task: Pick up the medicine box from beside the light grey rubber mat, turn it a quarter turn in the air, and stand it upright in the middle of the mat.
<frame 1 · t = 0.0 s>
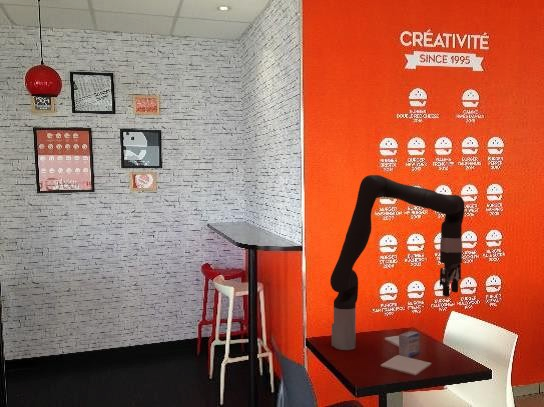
hand: (450, 294, 181), 29 cm above the table, tool pointing down, fingers open, 8 cm apart
medicine box: (408, 355, 203), on the table
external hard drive: (400, 344, 217), on the table
mat: (406, 365, 190), on the table
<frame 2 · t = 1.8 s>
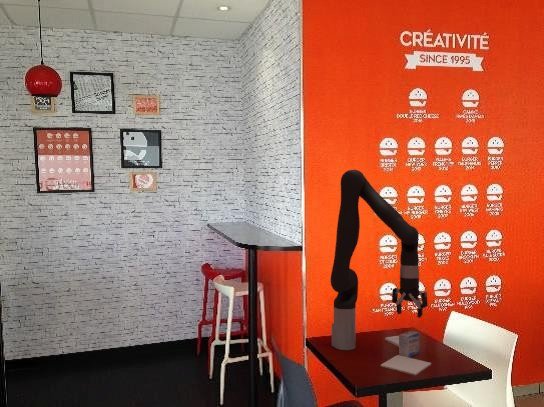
hand: (409, 315, 202), 16 cm above the table, tool pointing down, fingers open, 8 cm apart
nothing on the table moved.
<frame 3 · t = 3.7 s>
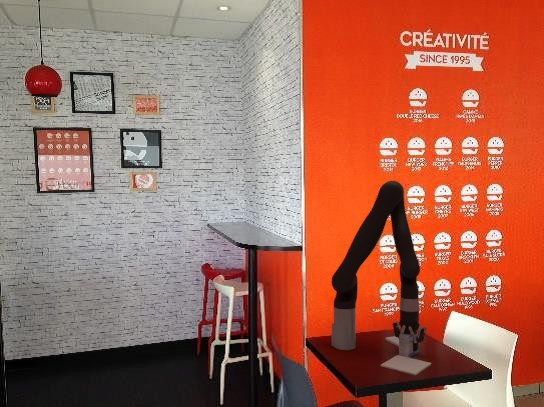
hand: (409, 349, 202), 2 cm above the table, tool pointing down, fingers closed on medicine box, 4 cm apart
medicine box: (408, 354, 203), on the table, touching gripper
everything else where it was.
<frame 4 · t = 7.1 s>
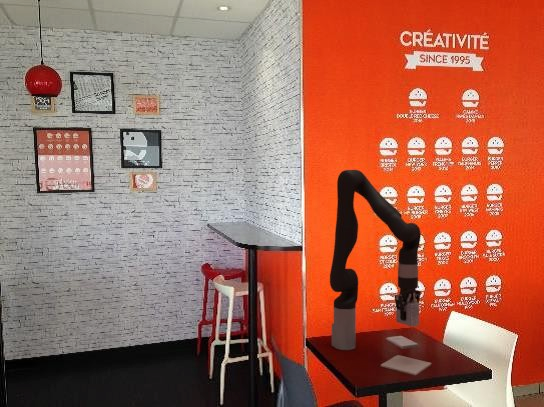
hand: (407, 318, 192), 17 cm above the table, tool pointing down, fingers closed on medicine box, 4 cm apart
medicine box: (407, 324, 192), point 15 cm above the table, touching gripper
everything else where it was.
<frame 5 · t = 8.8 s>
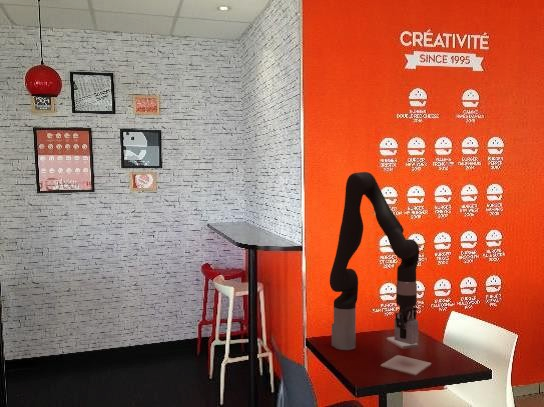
hand: (406, 336, 190), 11 cm above the table, tool pointing down, fingers closed on medicine box, 4 cm apart
medicine box: (406, 342, 190), point 9 cm above the table, touching gripper
everything else where it was.
when the fingers open (4 cm above the table, at t = 10.6 s): medicine box drops 1 cm, resting on mat.
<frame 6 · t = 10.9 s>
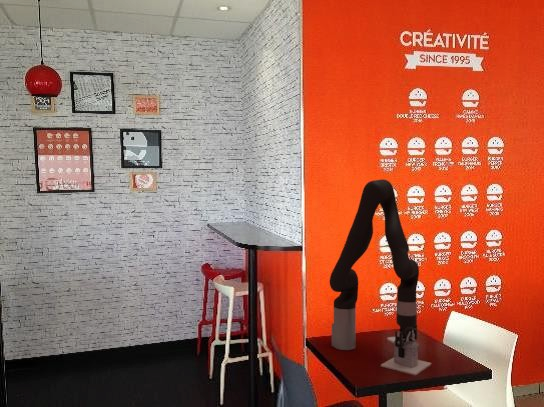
hand: (406, 354, 190), 4 cm above the table, tool pointing down, fingers open, 7 cm apart
medicine box: (405, 364, 190), resting on mat
everything else where it was.
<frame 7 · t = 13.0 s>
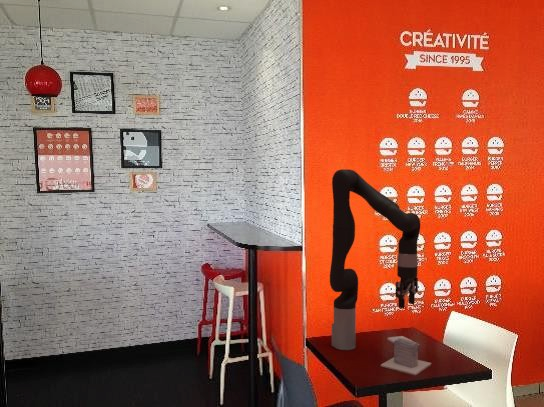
hand: (406, 305, 194), 22 cm above the table, tool pointing down, fingers open, 8 cm apart
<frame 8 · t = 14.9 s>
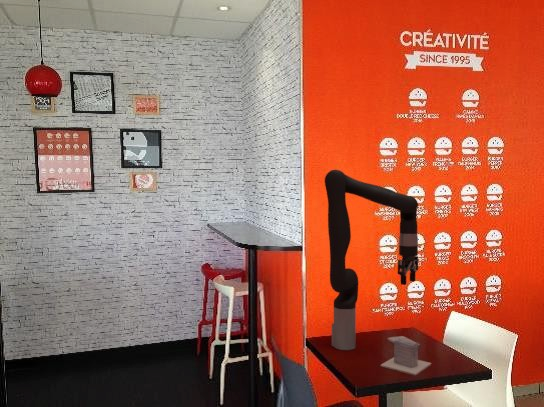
hand: (408, 282, 207), 28 cm above the table, tool pointing down, fingers open, 8 cm apart
at the end: medicine box inside the target area on the mat (0.2 cm from its centre), point 0.4 cm above the mat's base; medicine box tilted 0°; the gripper is holding nothing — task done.
